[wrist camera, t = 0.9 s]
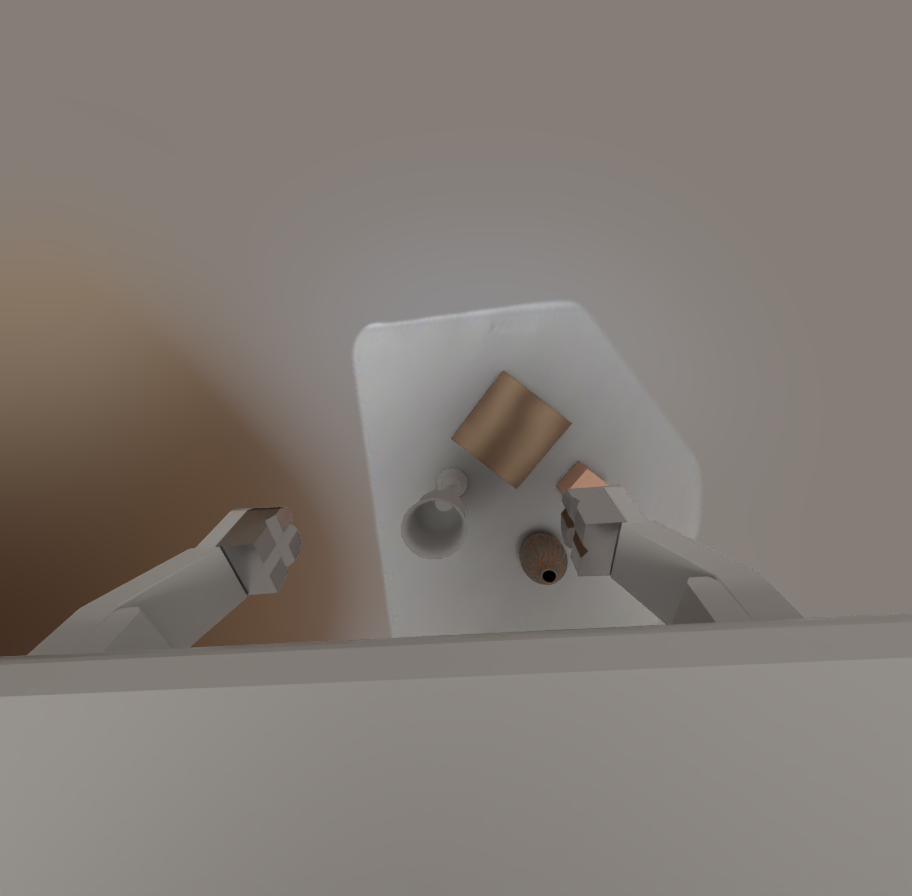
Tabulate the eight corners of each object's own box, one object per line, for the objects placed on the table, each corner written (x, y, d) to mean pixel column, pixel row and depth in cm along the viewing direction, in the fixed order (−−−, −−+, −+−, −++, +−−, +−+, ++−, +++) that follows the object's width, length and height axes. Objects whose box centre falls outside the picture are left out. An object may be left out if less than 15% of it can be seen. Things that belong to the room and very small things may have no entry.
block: (603, 480, 51) (615, 490, 46) (581, 504, 52) (591, 516, 47) (577, 460, 50) (587, 468, 46) (556, 485, 51) (563, 495, 46)
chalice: (461, 454, 52) (447, 486, 34) (482, 491, 53) (479, 541, 35) (422, 475, 53) (388, 517, 35) (443, 511, 54) (420, 569, 36)
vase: (558, 524, 52) (572, 550, 44) (563, 564, 53) (578, 597, 45) (515, 529, 53) (520, 555, 45) (520, 568, 54) (526, 602, 46)
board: (565, 421, 49) (571, 423, 46) (514, 481, 52) (516, 488, 48) (502, 372, 49) (503, 370, 45) (453, 434, 51) (451, 438, 48)
